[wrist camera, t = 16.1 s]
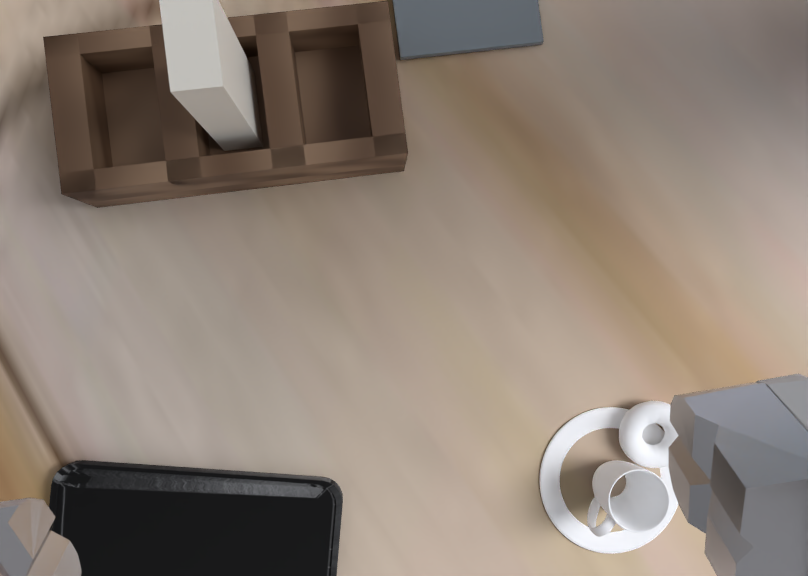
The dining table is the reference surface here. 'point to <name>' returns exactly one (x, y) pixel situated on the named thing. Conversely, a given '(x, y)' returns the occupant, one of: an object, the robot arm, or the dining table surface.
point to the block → (211, 72)
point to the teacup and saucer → (616, 478)
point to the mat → (464, 26)
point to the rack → (276, 95)
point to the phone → (196, 521)
